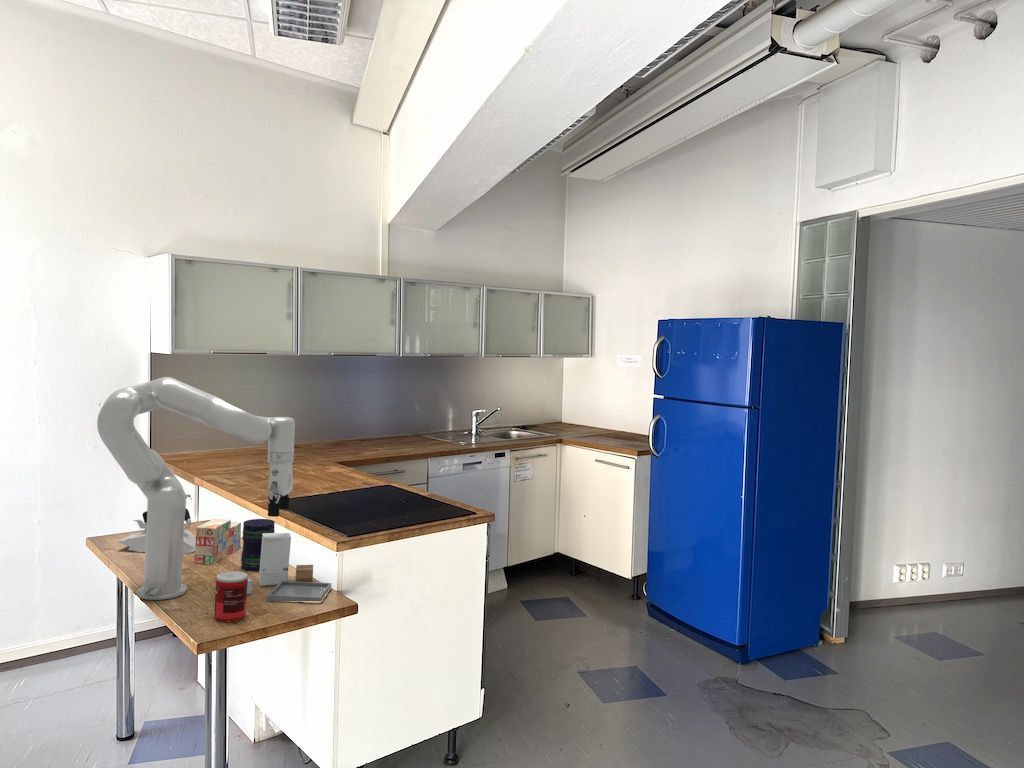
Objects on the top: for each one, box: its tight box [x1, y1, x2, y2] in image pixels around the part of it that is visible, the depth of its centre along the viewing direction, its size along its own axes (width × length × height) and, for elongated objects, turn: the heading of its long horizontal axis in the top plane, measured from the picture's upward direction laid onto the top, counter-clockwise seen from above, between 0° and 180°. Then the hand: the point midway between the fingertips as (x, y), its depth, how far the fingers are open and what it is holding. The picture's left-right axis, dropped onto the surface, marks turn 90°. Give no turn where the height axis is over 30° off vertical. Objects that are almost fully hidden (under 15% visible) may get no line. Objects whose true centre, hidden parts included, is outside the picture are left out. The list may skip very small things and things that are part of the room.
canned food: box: [213, 570, 249, 623], centre depth 176 cm, size 8×8×11 cm
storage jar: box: [240, 518, 276, 573], centre depth 219 cm, size 10×10×15 cm
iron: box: [118, 508, 196, 555], centre depth 233 cm, size 11×24×15 cm, turn 93°
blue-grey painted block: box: [247, 577, 253, 595], centre depth 196 cm, size 8×4×4 cm, turn 43°
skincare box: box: [258, 532, 292, 587], centre depth 205 cm, size 8×6×15 cm
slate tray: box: [266, 580, 333, 602], centre depth 196 cm, size 13×15×2 cm
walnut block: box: [295, 564, 314, 582], centre depth 206 cm, size 5×5×5 cm
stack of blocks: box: [194, 518, 242, 565], centre depth 230 cm, size 21×6×12 cm, turn 179°
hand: (278, 512), depth 205 cm, fingers open, 9 cm apart
